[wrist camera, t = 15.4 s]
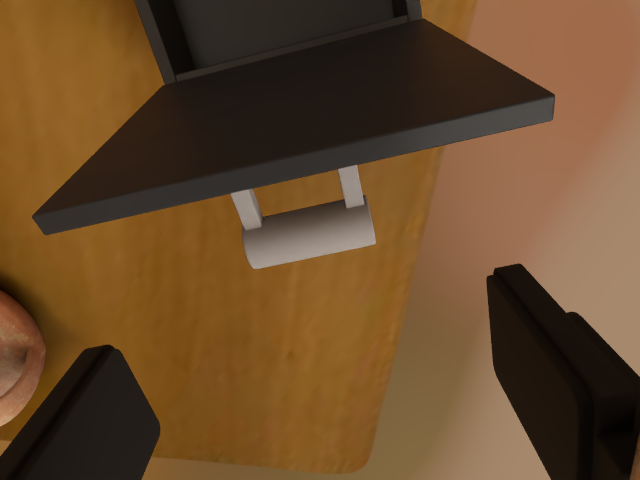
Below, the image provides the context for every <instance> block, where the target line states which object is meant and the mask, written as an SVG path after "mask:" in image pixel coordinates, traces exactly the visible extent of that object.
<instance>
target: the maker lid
mask: <svg viewBox="0 0 640 480" xmlns="http://www.w3.org/2000/svg"><path fill="white" fill-rule="evenodd" d="M554 103H555V95H554V94H553V93H551V92H550V91H548V90H546V89H544V88H543V87H541V86H539V85H537V84H536V83H534V82H532V81H531V80H529V79H527V78H526V77H524V76H522V75H520V74H519V73H517V72H515V71H513V70H512V69H510V68H508V67H507V66H505V65H503V64H501V63H500V62H498V61H496V60H494V59H493V58H491V57H489V56H488V55H486V54H484V53H482V52H480V51H479V50H477V49H476V48H474V47H472V46H470V45H469V44H467V43H465V42H463V41H462V40H460V39H458V38H457V37H455V36H453V35H451V34H450V33H448V32H446V31H444V30H443V29H441V28H439V27H438V26H436V25H434V24H432V23H431V22H429V21H427V20H425V19H419V20H415V21H411V22H407V23H403V24H400V25H396V26H392V27H388V28H384V29H380V30H376V31H372V32H369V33H365V34H361V35H357V36H353V37H349V38H345V39H341V40H338V41H334V42H330V43H326V44H322V45H318V46H314V47H310V48H307V49H303V50H299V51H295V52H291V53H287V54H283V55H279V56H276V57H272V58H268V59H264V60H260V61H256V62H252V63H248V64H245V65H241V66H237V67H233V68H229V69H225V70H221V71H217V72H214V73H210V74H206V75H202V76H198V77H194V78H190V79H186V80H182V81H179V82H175V83H171V84H167V85H163V86H162V87H161V88H160V89H159V90H158V91H157V92H156V93H155V94H154V95H153V96H152V97H151V98H150V99H149V100H148V101H147V102H146V103H145V104H144V105H143V106H142V107H141V108H140V109H139V110H138V111H137V112H136V113H135V114H134V115H133V116H132V117H131V118H130V119H129V120H128V121H127V122H126V123H125V124H124V125H123V126H122V127H121V128H120V129H119V130H118V131H117V132H116V133H115V134H114V135H113V136H112V137H111V138H110V139H109V140H108V141H107V142H106V143H105V144H104V145H103V146H102V147H101V148H100V149H99V150H98V151H97V152H96V153H95V154H94V155H93V156H92V157H91V158H90V159H89V160H88V161H87V162H86V163H85V164H84V165H83V166H82V167H81V168H80V169H79V170H78V171H77V172H76V173H75V174H74V175H73V176H72V177H71V178H70V179H69V180H68V181H67V182H66V183H65V184H64V185H63V186H62V187H61V188H59V189H58V190H57V191H56V192H55V193H54V194H53V195H52V196H51V197H50V198H49V199H48V200H47V201H46V202H45V203H44V204H43V205H42V206H41V207H40V208H39V209H38V210H37V211H36V212H35V213H34V214H33V215H32V218H33V220H34V221H35V222H36V224H37V225H38V226H39V228H40V229H41V230H42V232H43V233H44V234H45V235H50V234H54V233H59V232H63V231H67V230H72V229H76V228H81V227H85V226H89V225H94V224H98V223H103V222H107V221H111V220H116V219H120V218H125V217H129V216H134V215H138V214H142V213H147V212H151V211H156V210H160V209H164V208H169V207H173V206H178V205H182V204H186V203H191V202H195V201H200V200H204V199H208V198H213V197H217V196H222V195H226V194H231V197H232V199H233V202H234V204H235V207H236V209H237V212H238V214H239V216H240V219H241V221H242V224H243V225H242V241H243V246H244V250H245V254H246V257H247V259H248V261H249V263H250V265H251V266H252V268H254V269H259V268H264V267H269V266H274V265H279V264H284V263H288V262H293V261H298V260H303V259H308V258H313V257H317V256H322V255H327V254H332V253H337V252H342V251H346V250H351V249H356V248H361V247H366V246H371V245H375V244H376V238H375V232H374V227H373V222H372V217H371V213H370V208H369V204H368V200H367V197H366V195H363V194H362V189H361V184H360V179H359V174H358V169H357V165H358V164H363V163H367V162H372V161H376V160H380V159H385V158H389V157H394V156H398V155H403V154H407V153H411V152H416V151H420V150H425V149H429V148H433V147H438V146H442V145H447V144H451V143H455V142H460V141H464V140H469V139H473V138H477V137H482V136H486V135H491V134H495V133H500V132H504V131H508V130H513V129H517V128H522V127H526V126H530V125H535V124H539V123H544V122H548V121H551V120H553V114H554ZM336 169H337V170H338V174H339V178H340V183H341V187H342V192H343V196H344V199H343V200H339V201H334V202H330V203H325V204H320V205H316V206H311V207H307V208H302V209H298V210H293V211H288V212H284V213H279V214H275V215H270V216H266V217H263V216H262V213H261V210H260V207H259V205H258V202H257V199H256V196H255V194H254V191H253V188H257V187H261V186H266V185H270V184H275V183H279V182H283V181H288V180H292V179H297V178H301V177H306V176H310V175H314V174H319V173H323V172H328V171H332V170H336Z"/></svg>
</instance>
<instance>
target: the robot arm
mask: <svg viewBox="0 0 640 480" xmlns="http://www.w3.org/2000/svg"><path fill="white" fill-rule="evenodd" d="M487 293H488V305H489V319H490V330H491V343H492V356H493V366H494V370H495V373H496V376H497V378H498V380H499V382H500V384H501V386H502V388H503V390H504V392H505V393H506V395H507V397H508V399H509V401H510V403H511V405H512V407H513V408H514V410H515V412H516V414H517V416H518V418H519V420H520V422H521V424H522V426H523V427H524V429H525V431H526V433H527V435H528V437H529V439H530V441H531V442H532V444H533V446H534V448H535V450H536V452H537V454H538V456H539V458H540V460H541V461H542V463H543V465H544V467H545V469H546V471H547V473H548V475H549V476H550V478H551V480H640V377H639V376H638V375H637V374H636V373H635V372H634V371H633V370H632V368H630V366H629V365H628V364H627V363H626V362H625V361H624V360H623V359H622V358H621V357H620V356H619V355H618V354H617V353H616V352H615V351H614V350H613V349H612V348H611V347H610V346H609V345H608V344H607V343H606V342H605V340H603V338H602V337H601V336H600V335H599V334H598V333H597V332H596V331H595V330H594V329H593V328H592V327H591V326H590V325H589V324H588V323H587V322H586V321H585V320H584V319H583V318H582V317H581V316H580V315H579V314H578V313H575V312H568V313H566V312H565V311H564V310H563V309H562V308H561V307H560V306H559V305H558V303H557V302H556V301H555V300H554V299H553V298H552V297H551V296H550V295H549V294H548V293H547V291H546V290H545V289H544V288H543V287H542V286H541V285H540V284H539V283H538V282H537V281H536V280H535V279H534V277H533V276H532V275H531V274H530V273H529V272H528V271H527V270H526V269H525V267H524V266H523V265H521V264H514V265H510V266H504V267H499V268H495V269H494V272H493V275H490V276H487ZM159 435H160V424H159V421H158V419H157V417H156V415H155V414H154V412H153V410H152V408H151V406H150V404H149V403H148V401H147V399H146V397H145V395H144V393H143V391H142V390H141V388H140V386H139V384H138V382H137V380H136V379H135V377H134V375H133V373H132V371H131V369H130V368H129V366H128V364H127V362H126V360H125V358H124V356H123V355H122V353H121V352H120V350H118V349H115V348H114V347H113V346H111V345H103V346H98V347H93V348H88V349H85V350H84V351H83V352H82V353H81V354H80V355H79V357H78V358H77V359H76V361H75V362H74V363H73V364H72V366H71V367H70V368H69V370H68V371H67V372H66V373H65V375H64V376H63V377H62V378H61V380H60V381H59V382H58V384H57V385H56V386H55V387H54V389H53V390H52V391H51V392H50V394H49V395H48V396H47V398H46V399H45V400H44V401H43V403H42V404H41V405H40V407H39V408H38V409H37V410H36V412H35V413H34V414H33V415H32V417H31V418H30V419H29V421H28V422H27V423H26V424H25V426H24V427H23V428H22V429H21V431H20V432H19V433H18V435H17V436H16V437H15V438H14V440H13V441H12V442H11V444H10V445H9V446H8V448H7V449H6V450H5V451H4V452H3V454H2V455H1V456H0V480H141V479H142V477H143V475H144V472H145V470H146V467H147V465H148V462H149V460H150V458H151V455H152V453H153V450H154V448H155V446H156V443H157V441H158V438H159Z"/></svg>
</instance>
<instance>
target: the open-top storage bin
mask: <svg viewBox="0 0 640 480" xmlns="http://www.w3.org/2000/svg"><path fill="white" fill-rule="evenodd" d="M134 1H135V4H136V7H137V9H138V12H139V15H140V18H141V20H142V23H143V26H144V28H145V31H146V34H147V37H148V39H149V42H150V45H151V48H152V50H153V53H154V56H155V58H156V61H157V64H158V67H159V69H160V72H161V75H162V77H163V80H164V83H165V85H167V84H171V83H175V82H179V81H182V80H186V79H190V78H194V77H198V76H202V75H206V74H210V73H214V72H217V71H221V70H225V69H229V68H233V67H237V66H241V65H245V64H248V63H252V62H256V61H260V60H264V59H268V58H272V57H276V56H279V55H283V54H287V53H291V52H295V51H299V50H303V49H307V48H310V47H314V46H318V45H322V44H326V43H330V42H334V41H338V40H341V39H345V38H349V37H353V36H357V35H361V34H365V33H369V32H372V31H376V30H380V29H384V28H388V27H392V26H396V25H400V24H403V23H407V22H411V21H415V20H419V19H422V14H421V6H420V0H134Z"/></svg>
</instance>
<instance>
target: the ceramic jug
mask: <svg viewBox="0 0 640 480" xmlns="http://www.w3.org/2000/svg"><path fill="white" fill-rule="evenodd" d="M45 358H46V346H45V342H44V338H43V335H42V333H41V331H40V329H39V327H38V326H37V324H36V322H35V321H34V319H33V318H32V317H31V315H30V314H29V313H28V312H27V311H26V310H25V309H24V308H23V307H22V306H21V305H20V304H19V303H18V302H17V301H16V300H14V299H13V298H12V297H11V296H9V295H8V294H6V293H4V292H3V291H1V290H0V426H2V425H4V424H6V423H7V422H9V421H10V420H12V419H13V418H14V417H15V416H17V415H18V414H19V413H20V412H21V410H22V409H23V408H24V407H25V406H26V404H27V403H28V401H29V400H30V398H31V397H32V395H33V393H34V391H35V390H36V387H37V385H38V382H39V378H40V376H41V374H42V372H43V368H44V365H45Z"/></svg>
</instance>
